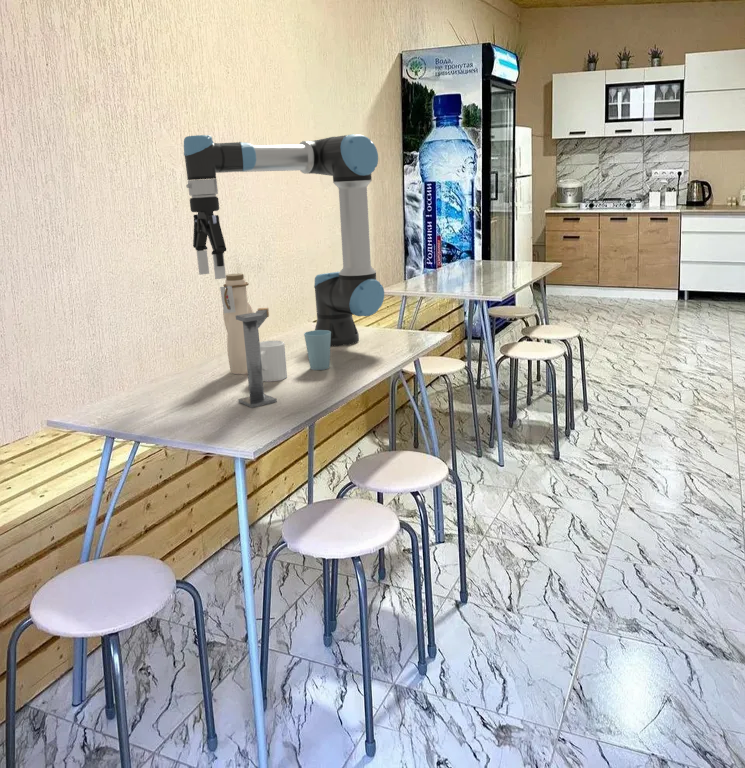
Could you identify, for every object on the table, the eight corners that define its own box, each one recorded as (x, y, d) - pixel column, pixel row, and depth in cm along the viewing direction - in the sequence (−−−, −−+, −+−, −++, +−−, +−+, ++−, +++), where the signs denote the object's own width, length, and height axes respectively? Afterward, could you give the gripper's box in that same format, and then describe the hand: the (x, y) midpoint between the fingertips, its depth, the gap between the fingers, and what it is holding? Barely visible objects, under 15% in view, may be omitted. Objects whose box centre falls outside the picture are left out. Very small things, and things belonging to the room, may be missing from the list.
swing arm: (257, 329, 194) (257, 320, 193) (247, 330, 194) (246, 321, 193) (269, 315, 212) (268, 307, 211) (259, 316, 212) (258, 308, 211)
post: (263, 396, 201) (255, 311, 195) (276, 401, 196) (269, 314, 190) (238, 402, 197) (230, 315, 191) (251, 407, 192) (243, 319, 186)
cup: (304, 371, 224) (301, 335, 222) (309, 364, 232) (307, 330, 229) (330, 371, 223) (328, 335, 221) (334, 364, 231) (332, 329, 228)
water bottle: (252, 376, 222) (242, 277, 214) (222, 376, 224) (212, 278, 216) (264, 367, 232) (255, 272, 224) (235, 367, 233) (225, 272, 226)
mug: (248, 385, 212) (244, 350, 210) (264, 374, 224) (261, 340, 221) (276, 385, 211) (273, 350, 208) (290, 374, 222) (288, 340, 219)
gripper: (176, 197, 217) (185, 273, 223) (205, 197, 196) (214, 282, 202) (202, 195, 221) (210, 270, 226) (233, 195, 200) (241, 278, 205)
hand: (212, 276), depth 214 cm, fingers open, 13 cm apart
